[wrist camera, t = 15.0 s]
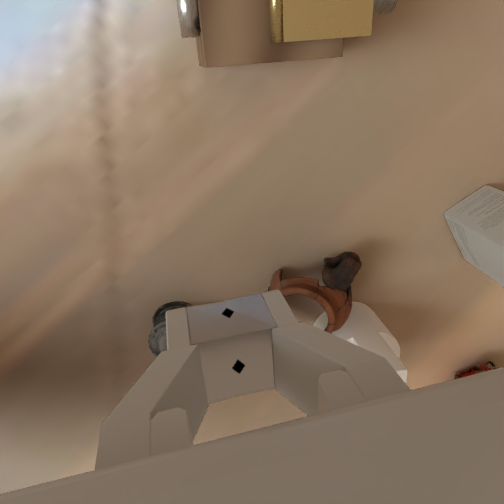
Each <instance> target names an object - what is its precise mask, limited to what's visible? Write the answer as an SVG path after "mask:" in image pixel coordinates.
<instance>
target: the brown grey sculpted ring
mask: <svg viewBox="0 0 504 504" xmlns="http://www.w3.org/2000/svg"><path fill="white" fill-rule="evenodd" d="M324 262H325V265H324V268H323V270H322V279H323V282H324V284H325V285H326V286H324V287H323V286H319V280H318V279H313V278H303V277H302V278H288V279H284V280H282V278H281V277H282V269H279V270H277V271H276V273H275V274H274V275H273V278H272V280H271V284H270V286H269V288H268V291H272V290H276V289H278V290H280V291H281V293H282V294H283V295H284V296H288V295H293V294H300V295H305V296H308V297H310V298H313V299H315V300H316V301H317V302H318V303H320V304H321V306H322V307H323V308H324V310H325V312H326V314H327V317H328V324H327V327H326V328H325V329H324V331H326V332H328V333H330V334H332V332H334V331H337V330H339V329H340V328H341V327H342V326H343V325H344V324H345V322H346V321H347V319H348V317H349V314H350V312H351V309H352V293H351V286H350V284H351V283H352V281H353V279H354V277H355V275H356V274H357V272H358V270H359V269H360V268H361V265H362V263H361V261H360V258H359V256H358V255H357V254H355V253H352V252H344V253H342V254H340V255H338V256H337V257H334V258H325V259H324Z"/></svg>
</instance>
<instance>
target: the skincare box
mask: <svg viewBox="0 0 504 504" xmlns="http://www.w3.org/2000/svg"><path fill="white" fill-rule="evenodd" d="M443 214H444V216H445V219H446V221H447V223H448V225H449V228H450V230H451V232H452V234H453V236H454V238H455V241H456V243H457V245H458V247H459V249H460V251H461V252H462V255H463V257H464V260H466V261H467V262H469V263H470V264H471V265H473V266H474V267H476V268H477V269H478V270H480V271H481V272H483V273H484V274H485V275H487V276H488V277H490V278H491V279H493V280H494V281H495V282H497V283H498V284H500V285H501V286H502V287H504V191H501V190H499V189H496V188H494V187H492V186H489V185H485V186H483V187H482V188H480V189H479V190H477V191H475V192H474V193H472V194H471V195H469V196H468V197H466V198H465V199H463V200H462V201H460V202H459V203H457V204H455V205H454V206H453V207H451V208H450V209H448V210H447V211H445V212H444V213H443Z"/></svg>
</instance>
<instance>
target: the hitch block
mask: <svg viewBox="0 0 504 504" xmlns="http://www.w3.org/2000/svg"><path fill="white" fill-rule="evenodd" d="M198 9H199V18H200V26H199V37H196V40H197V49H198V57H199V66H203V67H206V68H207V67H219V66H232V65H245V64H257V63H270V62H282V61H295V60H307V59H320V58H333V57H342V56H343V38H334V39H321V40H308V41H294V42H281V43H271V40H270V14H269V0H198Z"/></svg>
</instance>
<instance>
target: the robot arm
mask: <svg viewBox="0 0 504 504" xmlns="http://www.w3.org/2000/svg"><path fill="white" fill-rule="evenodd" d="M186 309H187V310H186ZM166 336H167V351H162V352H161V353H160V354H159V355H158V356H157V358H156V359H155V360H154V361H153V362H152V364H151V365H150V366H149V367H148V368H147V370H146V371H145V372H144V373H143V374H142V376H141V377H140V378H139V379H138V380H137V382H136V383H135V384H134V385H133V387H132V388H131V389H130V390H129V391H128V393H127V394H126V395H125V396H124V397H123V399H122V400H121V401H120V402H119V403H118V405H117V406H116V407H115V408H114V409H113V411H112V412H111V413H110V414H109V415H108V417H107V418H106V419H105V420H104V421H103V423H102V425H101V432H100V439H99V445H98V452H97V458H96V465H95V470H94V471H90V472H86V473H82V474H78V475H74V476H70V477H66V478H62V479H58V480H54V481H50V482H46V483H42V484H38V485H34V486H30V487H26V488H22V489H19V490H15V491H11V492H7V493H3V494H0V504H504V367H501V368H497V369H493V370H489V371H486V372H482V373H478V374H474V375H470V376H466V377H462V378H458V379H454V380H450V381H446V382H442V383H438V384H434V385H430V386H426V387H423V388H419V389H415V390H410V388H409V387H408V386H407V385H406V383H405V382H404V381H403V380H402V378H401V377H400V376H399V375H398V373H397V372H396V371H395V370H394V368H393V367H392V366H391V365H390V363H389V362H388V361H387V360H386V358H384V357H382V356H380V355H377V354H375V353H373V352H371V351H368V350H366V349H364V348H362V347H359V346H357V345H355V344H353V343H350V342H348V341H346V340H344V339H341V338H339V337H337V336H335V335H332V334H330V333H328V332H326V331H323V330H321V329H319V328H317V327H314V326H312V325H310V324H308V323H305V322H301V323H299V322H298V321H297V319H296V317H295V315H294V314H293V312H292V310H291V308H290V307H289V305H288V303H287V302H286V300H285V298H284V296H283V295H282V293H281V291H280V290H278V289H276V290H272V291H267V292H263V293H259V294H255V295H250V296H246V297H241V298H236V299H232V300H227V301H218V302H213V303H207V304H201V305H195V306H189V307H186V308H185V307H183V308H178V309H173V310H168V311H166ZM273 388H275V389H276V390H277V391H278V392H279V393H280V394H282V395H283V396H284V397H286V398H287V399H288V400H289V401H291V402H292V403H293V404H294V405H296V406H297V407H298V408H299V409H301V410H302V411H303V412H304V413H306V414H307V415H308V416H307V417H303V418H299V419H296V420H292V421H288V422H284V423H280V424H276V425H272V426H268V427H264V428H260V429H256V430H252V431H248V432H244V433H241V434H237V435H233V436H229V437H225V438H221V439H217V440H213V441H209V442H205V443H201V444H197V445H193V439H194V437H195V435H196V433H197V431H198V428H199V426H200V424H201V422H202V420H203V417H204V415H205V413H206V411H207V408H208V406H209V405H208V404H210V403H213V402H217V401H221V400H225V399H229V398H232V397H236V396H240V395H244V394H249V393H254V392H259V391H264V390H268V389H273Z"/></svg>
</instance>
